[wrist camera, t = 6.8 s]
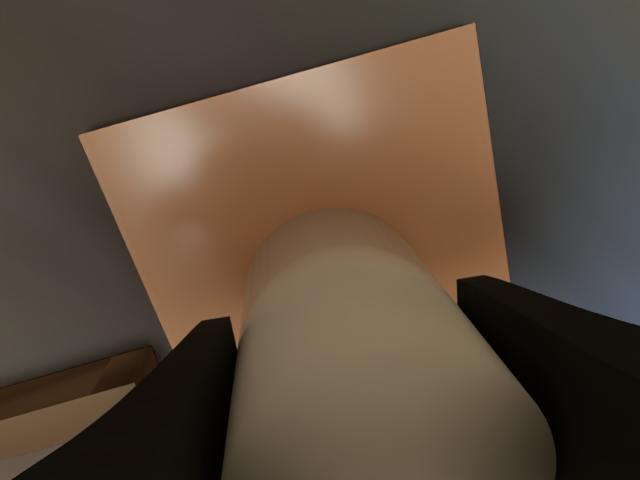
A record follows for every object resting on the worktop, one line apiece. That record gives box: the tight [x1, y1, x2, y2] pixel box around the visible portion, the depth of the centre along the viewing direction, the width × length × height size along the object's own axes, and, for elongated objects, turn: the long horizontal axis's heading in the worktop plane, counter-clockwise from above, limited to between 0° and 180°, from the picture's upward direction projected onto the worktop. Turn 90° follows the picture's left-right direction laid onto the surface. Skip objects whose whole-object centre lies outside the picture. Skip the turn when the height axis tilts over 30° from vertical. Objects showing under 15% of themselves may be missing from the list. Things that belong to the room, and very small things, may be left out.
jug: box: [221, 207, 556, 480], centre depth 11 cm, size 8×5×7 cm, turn 0°
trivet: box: [78, 23, 510, 350], centre depth 13 cm, size 10×10×1 cm
